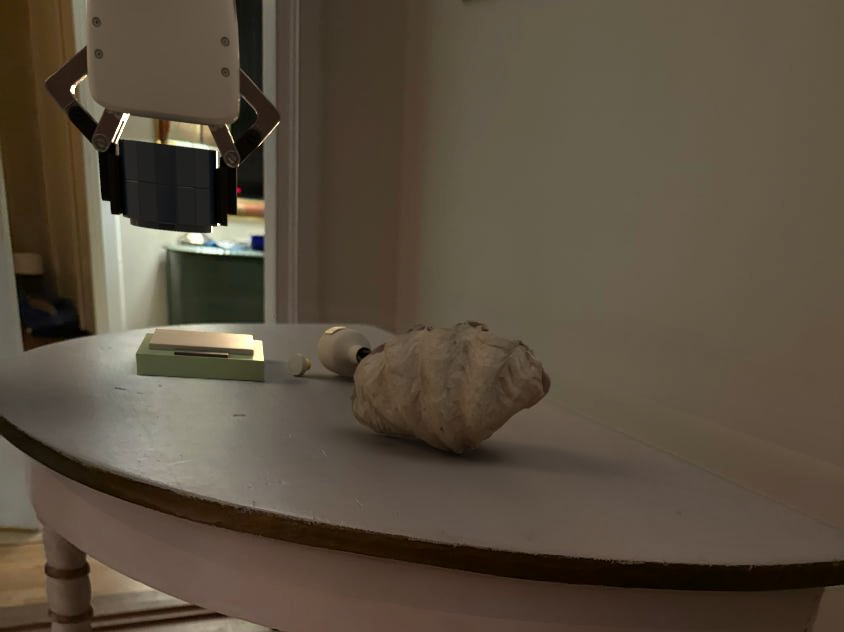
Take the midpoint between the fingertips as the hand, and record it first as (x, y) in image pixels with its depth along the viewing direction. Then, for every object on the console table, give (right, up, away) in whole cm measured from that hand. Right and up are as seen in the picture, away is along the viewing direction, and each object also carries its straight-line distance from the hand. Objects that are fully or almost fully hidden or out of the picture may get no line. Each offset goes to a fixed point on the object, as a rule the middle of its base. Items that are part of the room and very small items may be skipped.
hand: (171, 217), depth 68 cm
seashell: (+20, -16, +7) cm, 27 cm away
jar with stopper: (+12, -7, +22) cm, 26 cm away
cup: (0, -1, 0) cm, 1 cm away
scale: (-5, -3, +26) cm, 27 cm away
